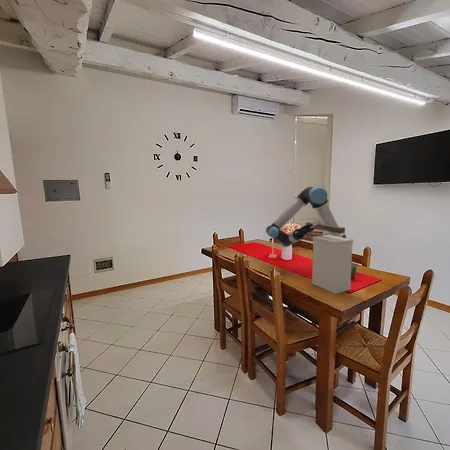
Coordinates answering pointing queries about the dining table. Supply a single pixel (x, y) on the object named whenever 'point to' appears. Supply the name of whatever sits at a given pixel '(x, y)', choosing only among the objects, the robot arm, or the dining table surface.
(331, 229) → the walnut bar
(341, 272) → the beige lidded bin
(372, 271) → the dining table surface
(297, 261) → the dining table surface
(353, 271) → the food container
